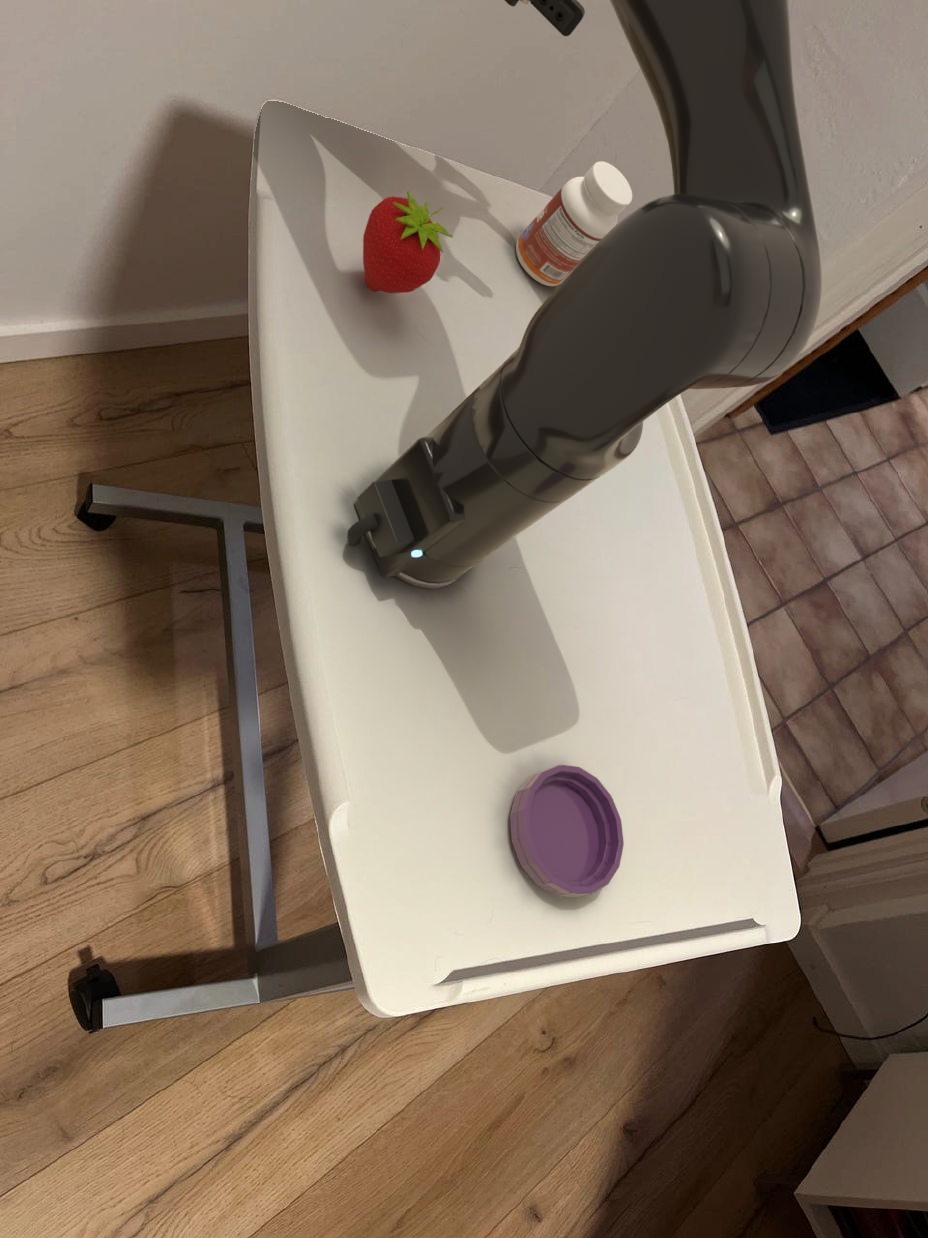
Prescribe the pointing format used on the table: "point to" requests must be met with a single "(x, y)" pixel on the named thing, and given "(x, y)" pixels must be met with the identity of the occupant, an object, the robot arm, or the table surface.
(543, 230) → the pill bottle
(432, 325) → the table surface
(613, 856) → the plum lid
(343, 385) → the table surface
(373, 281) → the strawberry
